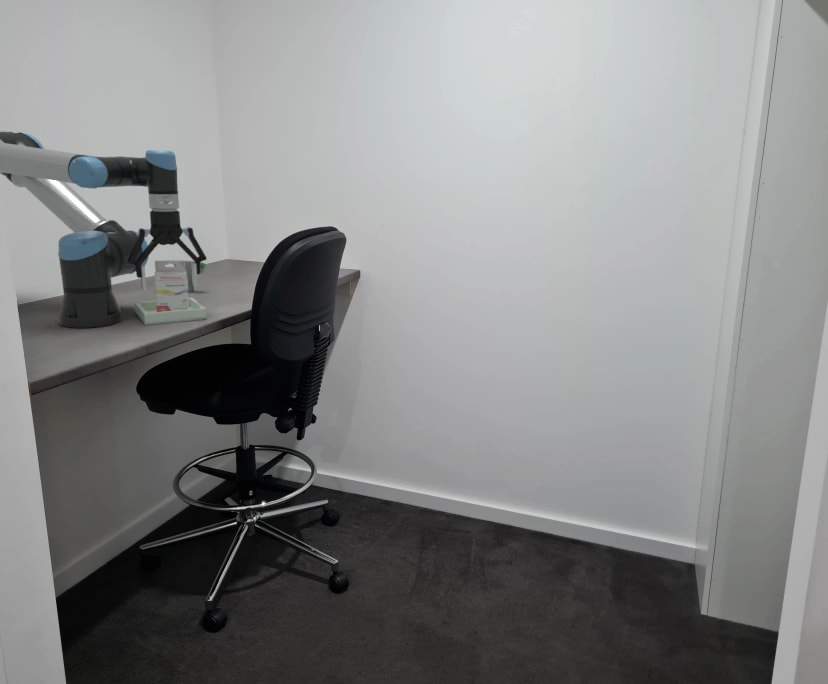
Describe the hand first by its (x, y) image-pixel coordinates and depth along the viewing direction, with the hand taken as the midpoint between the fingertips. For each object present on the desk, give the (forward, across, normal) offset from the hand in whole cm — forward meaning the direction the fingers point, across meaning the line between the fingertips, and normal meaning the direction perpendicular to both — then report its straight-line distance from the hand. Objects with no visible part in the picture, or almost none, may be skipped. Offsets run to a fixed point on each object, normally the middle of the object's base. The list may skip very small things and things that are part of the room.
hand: (170, 287), depth 186 cm
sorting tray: (+8, 0, 0) cm, 8 cm away
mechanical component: (+8, +13, +32) cm, 35 cm away
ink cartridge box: (+8, 0, 0) cm, 8 cm away
